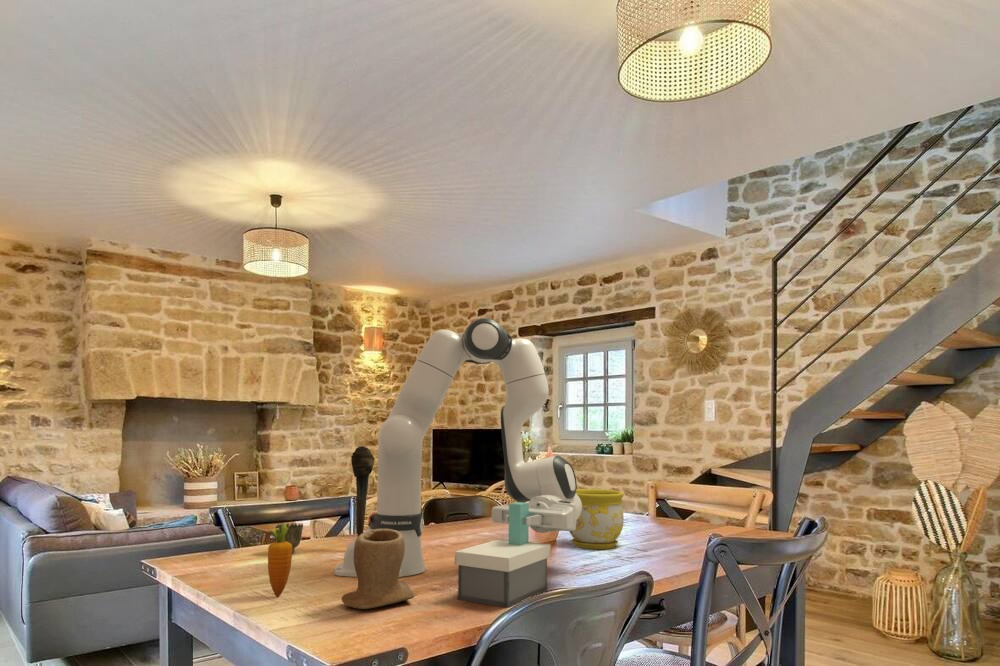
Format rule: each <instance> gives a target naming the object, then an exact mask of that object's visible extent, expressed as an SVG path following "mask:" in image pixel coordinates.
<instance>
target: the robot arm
mask: <svg viewBox="0 0 1000 666" xmlns="http://www.w3.org/2000/svg"><path fill="white" fill-rule="evenodd" d="M464 362H465V363H466V362H467V363H474V364H477V365H485V364H487V365H488V364H489V363H494V364H496V366H498V368H499V369H500V372H501V373H502V377H503V382H504V386H505V391H506V393H505V394H506V395H505V396H506V398H505V403H504V405H503V407H501V410H500V428H501V429H500V431H501V441H502V450H503V460H504V487H505V488H504V489H505V490H506V493H507V494H508V496H509V497H510V498H511V499H512V500H514V501H516V502H523V503H529V516H525V517H523V525H529V527H530V529H532V530H533V531H535V532H536V533H539V534H545V533H549V532H550V533H552V532H557V531H561V532H562V531H564V532H569V531H573V530H575V529H576V520H577V519H578V518H579V516H580V514H581V511H582V503H581V500H580V498H579V496H578V495H577V494H576V489H578V487H577V477H576V474H575V470H574V468H573V466H572V465H571V464H570V463H569V461H567V460H566V459H565V458H564V457H562V456H560V455H557V454H556V455H553V456H550V457H549V456H548V457H544V458H541V459H538V460H533V461H528V462H526V461H524V453H523V451H524V450H523V444H522V443H523V442H522V435H521V434H522V432H521V431H522V428H523V426H524V424H525V423H526V422H527V421H528V420H529V419H530V418H531V417H532V416H534V415H535V414H537V412H539V411H540V410H541V409H542V408H543V406H544V405H545V404H546V402H547V400H548V398H549V393H550V392H549V391H550V390H549V384H548V380H547V376H546V375H547V374H546V372H545V369H544V367H543V363H542V360H541V357H540V355H539V353H538V351H537V348H536V346H535V345H534V343H533V342H532V341H531V340H529V339H527V338H521V337H518V338H512V336H511V334H510V333H508V332H507V331H506V330H505V329H504V327H502V325H500V324H499V323H498V322H497V321H496V320H494V319H491V318H487V317H482V318H477V319H475V320H473V321H472V322H471V323H469V325H468V326H467V327H466V328H465V330H464V331H463V332H456V331H453V330H451V329H438V330H436V331H434V333H433V334H432V335H431V336H430V337H429V339H428V340H427V342H426V343H425V344H424V346H423V348H422V349H421V351H420V352H419V354H418V356H417V358H416V360H415V361H414V364H413V366H412V367H411V370H410V372H409V374H408V376H407V378H406V379H405V381H404V383H403V385H402V387H401V390H400V391H399V393H398V395H397V398H396V401H395V402H394V405H393V407H392V409H391V410H390V413H389V414H388V416H387V418H386V419H385V420H384V421H383V422H382V424H381V426H380V427H379V430H378V434H377V435H378V436H377V498H376V500H377V501H376V512H372V513H370V514H369V516H368V521H367V523H368V526H367V527H369V528H367V529H366V530H365V531H363V533H367V532H369V531H371V530H374V529H392V530H396V531H398V532H400V533H401V534H402V535H403V537H404V543H405V552H404V557H403V561H402V564H401V568H400V572H399V577H398V578H401V577H408V576H414V575H418V574H421V573H424V572H425V571H426V567H425V562H424V556H423V549H422V548H423V547H422V538H421V537H422V533H423V522H424V521H423V513H422V512H421V510H422V509H421V508H422V507H421V506H422V471H423V469H422V468H423V467H422V466H423V443H424V439H425V437H426V434H427V433H428V430H429V429H430V426H431V425H432V423H433V421H434V419H435V417H436V415H437V412H439V411H438V410H439V409H440V407H441V406H442V403H443V401H444V399H445V397H446V395H447V393H448V391H449V389H450V387H451V385H452V383H453V381H454V378H455V376H456V374H457V372H458V371H459V369H460V367H461V366H462V364H463V363H464ZM491 521H492V522H493V523H498V524H499V523H501V524H506V525H507V524H508V525H509V504H505V505H496V506H492V508H491ZM356 539H357V537H356V538H354V540H352V541H351V542H350V543H349V544H348V545H347V547H346V550H345V552H344V557H343V561H342V562H340V563H338V564H337V565H335V567H334V569H333V574H334V575H335V576H341V577H356V578H357V574H356V571H355V566H354V559H353V558H354V546H355V541H356Z"/></svg>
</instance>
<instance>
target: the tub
mask: <svg viewBox="0 0 1000 666" xmlns="http://www.w3.org/2000/svg"><path fill="white" fill-rule="evenodd" d="M547 573H548V558H546V559H543V560H540V561H537V562H535V563H532V564H529V565H526V566H524V567H521V568H518V569H515V570H513V571H510V572H505V571H498V570H491V569H484V568H476V567H469V566H462V565H458V581H457V583H458V588H457V591H458V592H457V600H460V601H465V602H472V603H477V604H483V605H488V606H495V607H499V608H500V607H501V608H505V609H508V608H510V607H512V606H515V605H517V604H519V603H521V602H523V601H525V600H527V599H526V598H528V597H530V596H532V597H534V596H535V594H536V595H538V593H539V594H541V593H543V592H545V591H547V590H548V574H547ZM533 595H534V596H533ZM530 598H531V597H530ZM524 599H525V600H524ZM528 599H529V598H528ZM522 600H523V601H522Z"/></svg>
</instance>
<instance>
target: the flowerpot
mask: <svg viewBox="0 0 1000 666" xmlns="http://www.w3.org/2000/svg"><path fill="white" fill-rule="evenodd" d="M576 494H577V495H578V496H579V498H580V500H581V503H582V511H581V514H580V516H579V518H578V519H577V520H576V529H575V530H573V531H568V532H569V534H570V535H571V537H572V539H571V542H572V543H573V544H574V547H577V548H581V549H587V550H609V549H614V548H615V547H616V545H617V544H618V543H619V541H618V538H619V537H620V535H621V533H622V531H623V527H624V522H625V521H624V509H623V503H624V502H623V501H622V500H623V497H624V496H625V495H624V492H623V491H619V490H614V489H600V488H597V489H596V488H577V489H576Z"/></svg>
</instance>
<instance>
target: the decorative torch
mask: <svg viewBox="0 0 1000 666" xmlns="http://www.w3.org/2000/svg"><path fill="white" fill-rule="evenodd" d="M350 458H351V459H350V461H351V466H352V473H353V477H354V478H356V479H355V480H356V482H355V484H356V488H355V489H356V524H357V525H356V526H357V528H356V529H357V537H358V536H359V535H360V534H362V533H364V528H365V519H366V518H365V517H366V508H367V507H366V506H367V498H368V496H367V495H368V487H369V476H370V475H371V473H372V471H373V468H374V464H375V458H374V456H373V454H372V451H371V450H370V449H369V448H368V447H366V446H362V445H361V446H358V447H357V448H355V450H354V452H352V455H351V457H350Z"/></svg>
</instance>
